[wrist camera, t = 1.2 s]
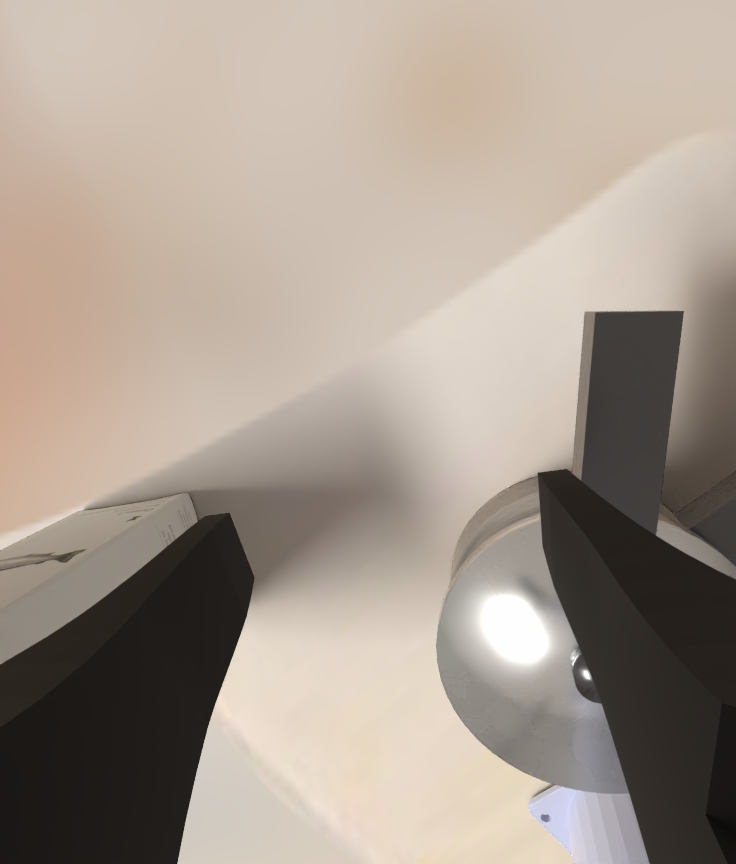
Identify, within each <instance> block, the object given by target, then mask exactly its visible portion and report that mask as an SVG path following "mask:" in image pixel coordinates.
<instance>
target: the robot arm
mask: <svg viewBox="0 0 736 864" xmlns="http://www.w3.org/2000/svg"><path fill="white" fill-rule="evenodd" d="M538 486H539V501H540V516H541V531H542V545H543V550H544V554H545V557H546V561H547V565H548V568H549V572H550V575H551V579H552V582H553V586H554V588H555V591H556V593H557V596H558V598H559V601H560V603H561V605H562V608H563V610H564V613H565V615H566V617H567V620H568V622H569V625H570V627H571V629H572V632H573V634H574V636H575V639H576V641H577V643H578V646H579V648H580V651H581V653H582V655H583V658H584V660H585V662H586V665H587V667H588V669H589V672H590V674H591V677H592V679H593V682H594V684H595V687H596V690H597V692H598V695H599V698H600V700H601V703H602V707H603V710H604V713H605V716H606V719H607V723H608V726H609V729H610V732H611V735H612V739H613V742H614V745H615V748H616V751H617V755H618V758H619V761H620V765H621V768H622V771H623V775H624V778H625V781H626V785H627V788H628V791H629V794H603V793H594V792H584V791H579V790H574V789H570V788H565V787H561V786H558V785H554V786H552V787H551V788H549V789H547V790H546V791H544V792H542V793H540V794H539V795H537V796H535V797H533V798H532V799H531V800H529V803H528V805H529V812H530V813H531V815H532V816H533V817H534V818H535V819H536V820H537V821H538V822H539V823H540V824H541V825H542V826H543V827H544V828H545V829H546V830H547V831H548V832H549V833H550V834H551V835H552V836H553V837H554V838H555V839H556V840H557V841H558V842H559V843H560V844H561V845H562V846H563V847H564V848H565V849H566V850H567V851H569V852H570V853H571V854H572V859H573V864H736V579H734V578H732V577H730V576H728V575H726V574H724V573H722V572H720V571H718V570H716V569H714V568H712V567H710V566H708V565H707V564H705V563H703V562H701V561H699V560H697V559H695V558H693V557H692V556H690V555H688V554H686V553H684V552H683V551H681V550H679V549H677V548H676V547H674V546H672V545H671V544H669V543H667V542H666V541H664V540H663V539H661V538H659V537H658V536H656V535H655V534H653V533H651V532H650V531H648V530H647V529H645V528H644V527H642V526H641V525H639V524H638V523H636V522H635V521H633V520H632V519H631V518H629V517H628V516H627V515H625V514H624V513H622V512H621V511H620V510H618V509H617V508H615V507H614V506H613V505H611V504H610V503H609V502H608V501H606V500H605V499H604V498H602V497H601V496H600V495H599V494H597V493H596V492H595V491H593V490H592V489H591V488H590V487H588V486H587V485H586V484H585V483H583V482H582V481H581V480H580V479H578V478H577V477H576V476H575V475H573V474H572V473H571V472H570V471H568V470H567V469H565V470H557V471H549V472H541V473H538ZM253 583H254V575H253V573H252V570H251V568H250V565H249V563H248V560H247V557H246V555H245V552H244V550H243V547H242V544H241V542H240V539H239V537H238V534H237V531H236V529H235V526H234V524H233V521H232V518H231V516H230V513H225V514H217V515H209V516H205V517H204V518H202V519H201V520H199V521H198V522H197V523H195V524H194V525H193V526H191V527H190V528H189V529H188V530H186V531H185V532H184V533H183V534H181V535H180V536H179V537H178V538H177V539H175V540H174V541H173V542H172V543H171V544H169V545H168V546H167V547H166V548H165V549H163V550H162V551H161V552H160V553H159V554H157V555H156V556H155V557H154V558H153V559H151V560H150V561H149V562H148V563H147V564H145V565H144V566H143V567H142V568H141V569H139V570H138V571H137V572H136V573H134V574H133V575H132V576H131V577H129V578H128V579H127V580H126V581H124V582H123V583H122V584H120V585H119V586H118V587H117V588H115V589H114V590H113V591H111V592H110V593H109V594H108V595H106V596H105V597H104V598H102V599H101V600H100V601H98V602H97V603H96V604H94V605H93V606H92V607H90V608H89V609H87V610H86V611H85V612H83V613H82V614H80V615H79V616H77V617H76V618H74V619H73V620H71V621H70V622H68V623H67V624H65V625H64V626H62V627H61V628H60V629H58V630H57V631H55V632H53V633H52V634H50V635H49V636H47V637H46V638H44V639H42V640H41V641H39V642H37V643H35V644H34V645H32V646H30V647H29V648H27V649H25V650H24V651H22V652H20V653H19V654H17V655H15V656H14V657H12V658H10V659H8V660H7V661H5V662H3V663H2V664H0V864H177V862H178V857H179V852H180V846H181V841H182V836H183V831H184V826H185V821H186V816H187V812H188V807H189V803H190V799H191V794H192V789H193V785H194V780H195V776H196V772H197V768H198V764H199V760H200V756H201V752H202V748H203V743H204V740H205V736H206V732H207V728H208V725H209V722H210V718H211V715H212V712H213V709H214V706H215V703H216V700H217V698H218V695H219V692H220V689H221V687H222V684H223V681H224V678H225V676H226V673H227V670H228V667H229V665H230V662H231V659H232V656H233V654H234V651H235V648H236V645H237V643H238V640H239V637H240V634H241V631H242V628H243V625H244V623H245V620H246V617H247V612H248V608H249V603H250V599H251V594H252V588H253ZM543 814H548V815H543Z"/></svg>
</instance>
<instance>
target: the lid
mask: <svg viewBox="0 0 736 864" xmlns="http://www.w3.org/2000/svg"><path fill="white" fill-rule="evenodd" d="M683 313H684V311H600V312H585V316H584V328H583V341H582V353H581V366H580V378H579V391H578V404H577V416H576V429H575V441H574V454H573V466H572V474H573V475H575V476H576V477H577V478H578V479H580V480H581V481H582V482H583V483H585V484H586V485H587V486H588V487H590V488H591V489H592V490H593V491H595V492H596V493H597V494H599V495H600V496H601V497H602V498H604V499H605V500H606V501H608V502H609V503H610V504H611V505H613V506H614V507H615V508H617V509H618V510H620V511H621V512H622V513H624V514H625V515H627V516H628V517H629V518H631V519H632V520H633V521H635V522H636V523H638V524H639V525H641V526H642V527H644V528H645V529H647V530H648V531H650V532H651V533H653V534H655V535H656V536H658V537H659V538H661V539H663V540H664V541H666V542H667V543H669V544H671V545H672V546H674V547H676V548H677V549H679V550H681V551H683V552H684V553H686V554H688V555H690V556H692V557H693V558H695V559H697V560H699V561H701V562H703V563H705V564H707V565H708V566H710V567H712V568H714V569H716V570H718V571H720V572H722V573H724V574H726V575H728V576H730V577H732V578H734V579H736V567H735V566H734V565H733V563H732V562H731V561H730V560H729V559H728V558H726V557H725V556H724V555H723V554H722V553H721V552H720V551H719V550H717V549H716V548H715V547H714V546H713V545H712V544H710V543H709V542H707V541H706V540H705V539H703V538H702V537H700V536H699V535H697V534H696V533H694V532H693V531H691V530H689V529H687V528H685V527H683V526H681V525H679V524H677V523H675V522H673V521H670V520H668V519H665V518H662V517H659V508H660V500H661V492H662V484H663V476H664V468H665V460H666V451H667V443H668V435H669V427H670V419H671V411H672V403H673V395H674V386H675V378H676V370H677V362H678V354H679V346H680V338H681V330H682V321H683ZM436 647H437V663H438V667H439V672H440V677H441V680H442V683H443V686H444V689H445V692H446V694H447V697H448V698H449V700H450V702H451V704H452V706H453V708H454V710H455V712H456V713H457V714H458V716H459V717H460V719H461V720H462V722H463V723H464V725H465V726H466V727H467V728H468V729H469V730H470V731H471V733H472V734H473V735H474V736H475V737H476V738H477V739H478V740H479V741H480V742H481V743H482V744H483V745H484V746H486V747H487V748H488V749H489V750H490V751H491V752H492V753H494V754H495V755H497V756H498V757H499V758H501V759H502V760H504V761H505V762H507V763H508V764H510V765H512V766H513V767H515V768H517V769H519V770H521V771H522V772H524V773H526V774H529V775H531V776H533V777H536V778H538V779H540V780H542V781H545V782H548V783H552V784H555V785H558V786H561V787H565V788H570V789H574V790H579V791H584V792H594V793H603V794H629V791H628V788H627V785H626V781H625V778H624V775H623V771H622V768H621V765H620V761H619V758H618V755H617V751H616V748H615V745H614V742H613V739H612V735H611V732H610V729H609V726H608V723H607V719H606V716H605V713H604V710H603V707H602V703H601V700H600V698H599V695H598V692H597V690H596V687H595V684H594V682H593V679H592V677H591V674H590V672H589V669H588V667H587V665H586V662H585V660H584V658H583V655H582V653H581V651H580V648H579V646H578V643H577V641H576V639H575V636H574V634H573V632H572V629H571V627H570V625H569V622H568V620H567V617H566V615H565V613H564V610H563V608H562V605H561V603H560V601H559V598H558V596H557V593H556V591H555V588H554V586H553V582H552V579H551V575H550V572H549V568H548V565H547V561H546V557H545V554H544V550H543V545H542V531H541V516H540V513H538V514H536V515H533V516H530V517H528V518H525V519H522V520H520V521H518V522H516V523H514V524H512V525H510V526H508V527H506V528H504V529H502V530H500V531H499V532H498V533H496V534H495V535H493V536H492V537H490V538H489V539H487V540H486V541H485V542H484V543H482V544H481V545H480V546H479V547H478V548H477V549H476V550H475V551H474V552H473V553H472V554H471V555H470V556H469V557H468V558H467V559H466V561H465V562H464V563H463V564H462V566H461V567H460V568H459V570H458V571H457V573H456V575H455V576H454V578H453V579H452V581H451V583H450V585H449V587H448V590H447V592H446V594H445V597H444V599H443V603H442V607H441V611H440V615H439V623H438V632H437V643H436Z"/></svg>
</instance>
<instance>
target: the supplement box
mask: <svg viewBox="0 0 736 864" xmlns="http://www.w3.org/2000/svg"><path fill="white" fill-rule="evenodd" d="M197 522H198V519H197V516H196V512H195V509H194V506H193V503H192V501H191V498H190V496H189V494H188V493H182V494H178V495H174V496H169V497H165V498H160V499H155V500H150V501H145V502H139V503H133V504H127V505H120V506H114V507H107V508H100V509H92V510H84V511H78V512H76V513H74V514H72V515H70V516H68V517H66V518H64V519H62V520H60V521H58V522H56V523H54V524H52V525H50V526H48V527H46V528H44V529H42V530H40V531H38V532H36V533H34V534H32V535H30V536H28V537H26V538H24V539H22V540H20V541H18V542H16V543H14V544H12V545H10V546H8V547H6V548H4V549H2V550H1V551H0V664H2V663H3V662H5V661H7V660H8V659H10V658H12V657H14V656H15V655H17V654H19V653H20V652H22V651H24V650H25V649H27V648H29V647H30V646H32V645H34V644H35V643H37V642H39V641H41V640H42V639H44V638H46V637H47V636H49V635H50V634H52V633H53V632H55V631H57V630H58V629H60V628H61V627H62V626H64V625H65V624H67V623H68V622H70V621H71V620H73V619H74V618H76V617H77V616H79V615H80V614H82V613H83V612H85V611H86V610H87V609H89V608H90V607H92V606H93V605H94V604H96V603H97V602H98V601H100V600H101V599H102V598H104V597H105V596H106V595H108V594H109V593H110V592H111V591H113V590H114V589H115V588H117V587H118V586H119V585H120V584H122V583H123V582H124V581H126V580H127V579H128V578H129V577H131V576H132V575H133V574H134V573H136V572H137V571H138V570H139V569H141V568H142V567H143V566H144V565H145V564H147V563H148V562H149V561H150V560H151V559H153V558H154V557H155V556H156V555H157V554H159V553H160V552H161V551H162V550H163V549H165V548H166V547H167V546H168V545H169V544H171V543H172V542H173V541H174V540H175V539H177V538H178V537H179V536H180V535H181V534H183V533H184V532H185V531H186V530H188V529H189V528H190V527H191V526H193V525H194V524H195V523H197Z"/></svg>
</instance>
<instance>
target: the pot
mask: <svg viewBox="0 0 736 864" xmlns="http://www.w3.org/2000/svg"><path fill="white" fill-rule="evenodd" d="M571 473H572V472H571ZM538 513H540V501H539V486H538V477H534V478H531V479H528V480H525V481H522V482H520V483H517V484H515V485H513V486H511V487H509V488H507V489H505V490H504V491H502V492H500V493H499V494H497V495H496V496H495V497H493V498H492V499H490V500H489V501H488V502H487V503H486V504H485V505H484V506H482V507H481V508H480V509H479V510H478V511H477V512H476V514H475V515H474V516H473V517H472V519H471V520H470V521H469V522H468V524H467V526H466V527H465V529H464V531H463V532H462V534H461V536H460V539H459V541H458V543H457V546H456V549H455V553H454V557H453V561H452V571H451V581H452V579H453V578H454V576H455V575H456V573H457V571H458V570H459V568H460V567H461V566H462V564H463V563H464V562H465V561H466V559H467V558H468V557H469V556H470V555H471V554H472V553H473V552H474V551H475V550H476V549H477V548H478V547H479V546H480V545H481V544H482V543H484V542H485V541H486V540H487V539H489V538H490V537H492V536H493V535H495V534H496V533H498V532H499V531H500V530H502V529H504V528H506V527H508V526H510V525H512V524H514V523H516V522H518V521H520V520H522V519H525V518H528V517H530V516H533V515H536V514H538ZM659 517H662V518H665V519H668V520H670V521H673V522H675V523H677V524H679V525H681V526H683V527H685V528H687V529H689V530H691V531H693V532H694V533H696V534H697V535H699V536H700V537H702V538H703V539H705V540H706V541H707V542H709V543H710V544H712V545H713V546H714V547H715V548H716V549H717V550H719V551H720V552H721V553H722V554H723V555H724V556H725V557H726V558H728V559H729V560H730V561H731V562H732V563H733V565H734V566H735V567H736V471H735V472H734V473H732V474H731V475H730V476H728V477H727V478H725V479H724V480H723V481H721V482H720V483H718V484H717V485H716V486H714V487H713V488H711V489H710V490H709V491H707V492H706V493H704V494H703V495H702V496H700V497H699V498H697V499H696V500H695V501H693V502H692V503H690V504H689V505H688V506H686V507H685V508H683V509H682V510H681V511H679V512H678V513H676V514H675V515H674V514H673V513H672V512H671V511H670V510H669V509H668V508H666V507H665V506H664V505H663V504H662V503H661V502H660V508H659ZM451 581H450V583H451Z"/></svg>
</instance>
